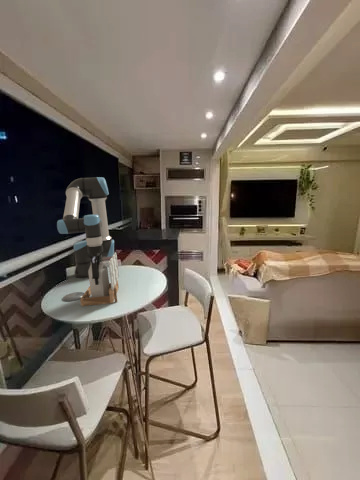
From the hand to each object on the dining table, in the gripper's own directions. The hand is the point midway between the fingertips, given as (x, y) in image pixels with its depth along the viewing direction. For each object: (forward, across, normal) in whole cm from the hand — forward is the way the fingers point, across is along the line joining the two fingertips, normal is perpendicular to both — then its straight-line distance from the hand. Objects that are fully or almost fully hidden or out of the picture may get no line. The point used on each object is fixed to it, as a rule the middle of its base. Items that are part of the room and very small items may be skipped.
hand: (100, 286), depth 136 cm
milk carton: (+6, 0, 0) cm, 6 cm away
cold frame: (+5, 0, 0) cm, 5 cm away
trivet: (+5, -3, -15) cm, 16 cm away
